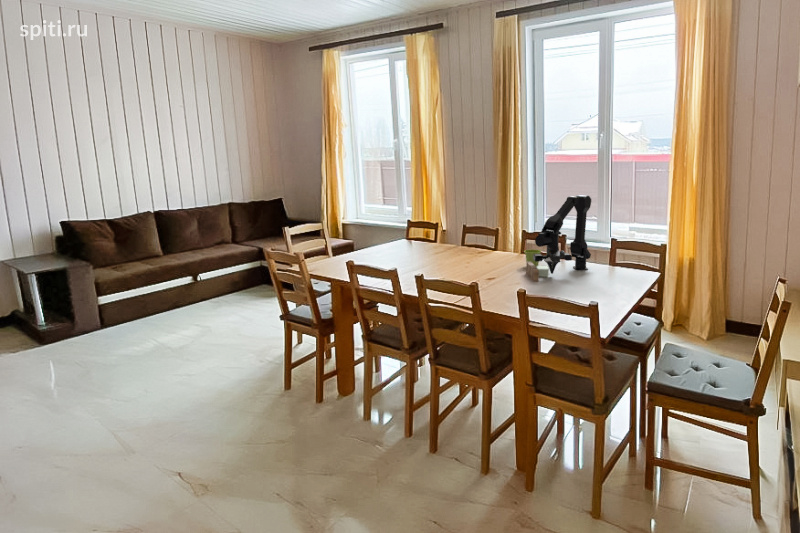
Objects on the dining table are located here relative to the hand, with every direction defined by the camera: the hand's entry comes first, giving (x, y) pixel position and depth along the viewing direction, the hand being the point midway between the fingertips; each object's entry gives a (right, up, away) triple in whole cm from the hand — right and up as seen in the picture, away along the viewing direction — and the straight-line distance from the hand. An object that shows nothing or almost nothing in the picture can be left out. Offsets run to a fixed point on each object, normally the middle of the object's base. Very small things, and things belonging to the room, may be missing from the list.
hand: (551, 273), depth 295 cm
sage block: (-4, -1, +4) cm, 6 cm away
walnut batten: (-10, -2, +1) cm, 10 cm away
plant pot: (-5, +4, +23) cm, 24 cm away
